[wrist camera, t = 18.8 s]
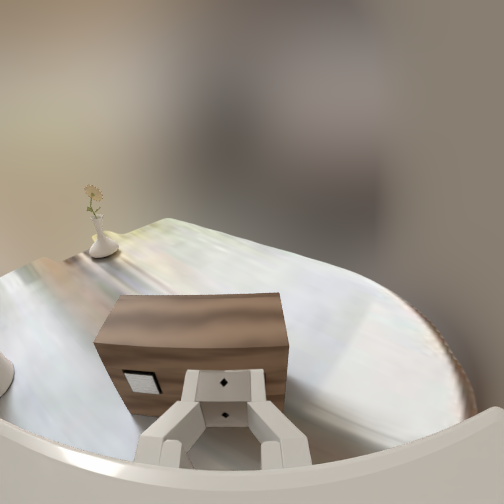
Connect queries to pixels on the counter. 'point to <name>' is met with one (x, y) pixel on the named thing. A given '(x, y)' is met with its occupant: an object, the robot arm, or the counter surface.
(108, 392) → the counter surface
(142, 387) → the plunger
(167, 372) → the button panel
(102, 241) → the flower in vase
